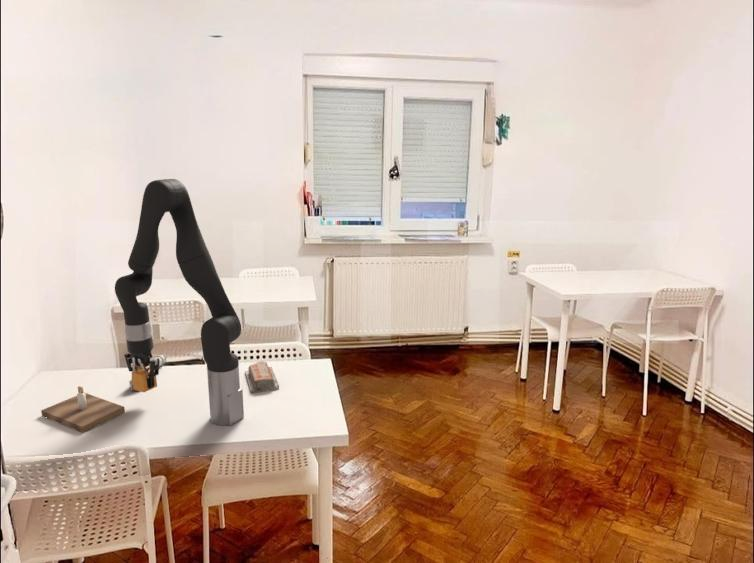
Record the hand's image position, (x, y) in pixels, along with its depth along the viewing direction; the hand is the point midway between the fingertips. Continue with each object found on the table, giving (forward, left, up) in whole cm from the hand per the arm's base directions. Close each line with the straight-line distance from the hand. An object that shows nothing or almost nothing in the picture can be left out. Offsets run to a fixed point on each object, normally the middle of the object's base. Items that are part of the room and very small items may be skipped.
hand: (145, 385), depth 170 cm
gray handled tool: (+17, -15, -7) cm, 24 cm away
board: (+11, +14, -7) cm, 19 cm away
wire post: (+11, +14, -5) cm, 19 cm away
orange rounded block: (0, 0, -1) cm, 1 cm away
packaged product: (-20, -33, -7) cm, 39 cm away
